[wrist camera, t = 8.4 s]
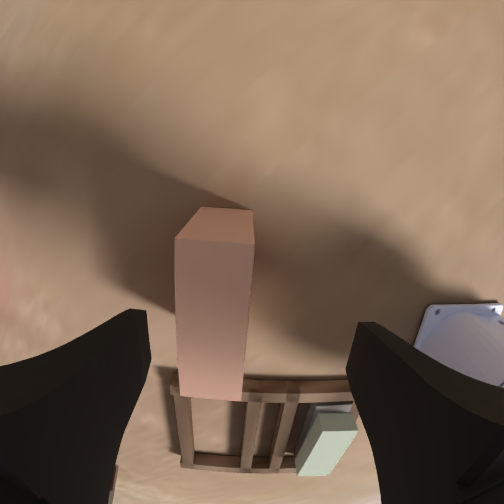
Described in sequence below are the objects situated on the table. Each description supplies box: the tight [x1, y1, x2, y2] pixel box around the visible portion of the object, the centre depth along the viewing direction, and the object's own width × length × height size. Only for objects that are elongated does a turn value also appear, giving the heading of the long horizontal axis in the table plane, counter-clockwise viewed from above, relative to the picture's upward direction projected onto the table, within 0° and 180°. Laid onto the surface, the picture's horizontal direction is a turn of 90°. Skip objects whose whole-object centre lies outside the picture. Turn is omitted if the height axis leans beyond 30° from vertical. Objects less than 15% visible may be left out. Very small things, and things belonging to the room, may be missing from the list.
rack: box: [169, 373, 359, 473], centre depth 23 cm, size 15×12×2 cm
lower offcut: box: [294, 401, 352, 458], centre depth 23 cm, size 3×9×2 cm, turn 175°
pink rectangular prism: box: [174, 207, 255, 401], centre depth 16 cm, size 3×8×7 cm, turn 175°
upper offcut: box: [295, 413, 359, 476], centre depth 22 cm, size 3×7×2 cm, turn 170°
